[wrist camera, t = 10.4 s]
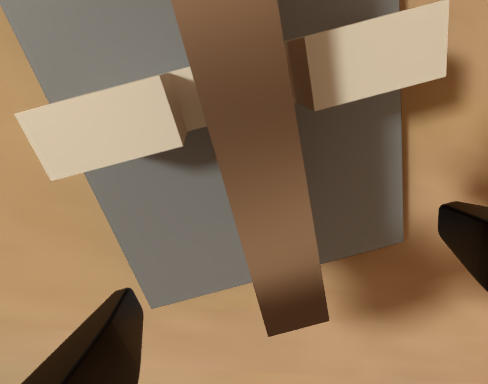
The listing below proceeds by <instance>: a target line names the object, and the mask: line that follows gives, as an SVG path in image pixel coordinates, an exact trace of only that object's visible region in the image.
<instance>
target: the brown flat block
mask: <svg viewBox="0 0 488 384" xmlns="http://www.w3.org/2000/svg"><path fill="white" fill-rule="evenodd" d="M171 3H172V6H173V10H174V13H175V16H176V20H177V23H178V27H179V30H180V34H181V37H182V41H183V44H184V47H185V51H186V54H187V58H188V61H189V65H190V68H191V72H192V75H193V79H194V82H195V85H196V89H197V92H198V96H199V99H200V103H201V106H202V110H203V113H204V117H205V120H206V123H207V127H208V130H209V134H210V137H211V141H212V144H213V148H214V151H215V155H216V158H217V161H218V165H219V168H220V172H221V175H222V179H223V182H224V186H225V189H226V192H227V196H228V199H229V203H230V206H231V210H232V213H233V217H234V220H235V224H236V227H237V230H238V234H239V237H240V241H241V244H242V248H243V251H244V255H245V258H246V262H247V265H248V268H249V272H250V275H251V279H252V282H253V286H254V289H255V293H256V296H257V300H258V303H259V306H260V310H261V313H262V317H263V320H264V324H265V327H266V331H267V334H268V337H270V336H274V335H278V334H282V333H285V332H289V331H293V330H297V329H300V328H304V327H308V326H312V325H315V324H319V323H323V322H327V321H329V315H328V309H327V303H326V297H325V291H324V285H323V278H322V272H321V266H320V260H319V254H318V248H317V242H316V235H315V229H314V223H313V217H312V211H311V205H310V199H309V192H308V186H307V180H306V174H305V168H304V162H303V156H302V149H301V143H300V137H299V131H298V125H297V119H296V113H295V107H294V100H293V94H292V88H291V82H290V76H289V70H288V64H287V57H286V51H285V45H284V39H283V33H282V27H281V21H280V14H279V8H278V2H277V0H171Z"/></svg>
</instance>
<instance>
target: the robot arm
mask: <svg viewBox="0 0 488 384" xmlns="http://www.w3.org/2000/svg"><path fill="white" fill-rule="evenodd" d="M438 232H439V235H440V237H441V238H442V240H443V241H444V242H445V243H446V244H447V246H448V247H449V248H450V249H451V250H452V252H453V253H454V254H455V255H456V257H457V258H458V259H459V260H460V261H461V263H462V264H463V265H464V266H465V267H466V269H467V270H468V271H469V272H470V273H471V275H472V276H473V277H474V278H475V279H476V280H477V281H478V282H479V284H480V285H481V286H482V287H483V288H484V289H485V290H486V291H487V292H488V207H485V206H480V205H474V204H469V203H463V202H458V201H454V202H450V203H446V204H443V205H441V206H440V208H439V214H438ZM142 332H143V310H142V307H141V305H140V303H139V301H138V299H137V297H136V296H135V294H134V292H133V290H132V289H131V288H125V289H121V290H117V291H115V292H114V293H113V294H112V295H111V296H110V297H109V298H108V299H107V300H106V301H105V302H104V303H103V304H102V305H101V306H100V307H99V308H98V309H97V310H96V311H95V312H94V313H92V314H91V315H90V316H89V317H88V318H87V319H86V320H85V321H84V322H83V323H82V324H81V325H80V326H79V327H78V328H77V329H76V330H75V331H74V332H73V333H72V334H71V335H70V336H69V337H68V338H67V339H66V340H65V341H64V342H63V343H62V344H61V345H60V346H59V347H58V348H57V349H56V350H55V351H54V352H53V353H52V354H51V355H50V356H49V357H48V358H47V359H46V360H45V361H44V362H43V363H42V364H41V365H40V366H39V367H38V368H37V369H36V370H35V371H34V372H33V373H32V374H31V375H30V376H29V377H28V378H27V379H25V380H24V381H23V382H22V383H21V384H138V380H139V373H140V363H141V348H142Z"/></svg>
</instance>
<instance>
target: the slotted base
mask: <svg viewBox="0 0 488 384" xmlns="http://www.w3.org/2000/svg"><path fill="white" fill-rule="evenodd" d="M277 2H278V8H279V14H280V21H281V27H282V33H283V39H284V45H285V51H286V57H287V64H288V70H289V76H290V82H291V88H292V94H293V100H294V107H295V113H296V119H297V125H298V131H299V137H300V143H301V149H302V156H303V162H304V168H305V174H306V180H307V186H308V192H309V199H310V205H311V211H312V217H313V223H314V229H315V235H316V242H317V248H318V254H319V260H320V264H323V263H327V262H330V261H334V260H338V259H342V258H345V257H349V256H353V255H357V254H360V253H364V252H368V251H372V250H375V249H379V248H383V247H387V246H391V245H394V244H398V243H402V242H404V236H403V183H402V130H401V88H405V87H409V86H412V85H416V84H420V83H424V82H427V81H431V80H435V79H439V78H443V77H446V67H447V42H448V18H449V0H442V1H438V2H434V3H431V4H427V5H423V6H419V7H415V8H411V9H407V10H403V11H399V0H277ZM0 5H1V7H2V9H3V11H4V13H5V15H6V17H7V19H8V21H9V23H10V25H11V27H12V29H13V31H14V33H15V35H16V37H17V39H18V41H19V43H20V45H21V47H22V49H23V51H24V53H25V55H26V57H27V59H28V61H29V63H30V65H31V68H32V70H33V72H34V74H35V76H36V78H37V80H38V82H39V84H40V86H41V88H42V90H43V92H44V94H45V96H46V98H47V100H48V102H49V104H47V105H44V106H40V107H36V108H33V109H29V110H26V111H22V112H18V113H15V114H14V115H15V117H16V119H17V120H18V122H19V124H20V126H21V128H22V129H23V131H24V133H25V135H26V137H27V138H28V140H29V142H30V144H31V146H32V147H33V149H34V151H35V153H36V155H37V157H38V158H39V160H40V162H41V164H42V166H43V167H44V169H45V171H46V173H47V175H48V176H49V178H50V180H51V181H53V180H57V179H61V178H65V177H69V176H72V175H76V174H80V173H84V174H85V176H86V178H87V180H88V182H89V184H90V186H91V188H92V190H93V192H94V194H95V196H96V198H97V200H98V202H99V204H100V206H101V208H102V210H103V212H104V214H105V216H106V218H107V220H108V222H109V224H110V226H111V228H112V231H113V233H114V235H115V237H116V239H117V241H118V243H119V245H120V247H121V249H122V251H123V253H124V255H125V257H126V259H127V261H128V263H129V265H130V267H131V269H132V271H133V273H134V275H135V277H136V279H137V281H138V283H139V285H140V287H141V289H142V291H143V293H144V295H145V297H146V299H147V301H148V303H149V305H150V307H151V309H154V308H157V307H161V306H165V305H169V304H172V303H176V302H180V301H184V300H187V299H191V298H195V297H199V296H202V295H206V294H210V293H214V292H218V291H221V290H225V289H229V288H233V287H236V286H240V285H244V284H248V283H251V282H252V279H251V275H250V272H249V268H248V265H247V262H246V258H245V255H244V251H243V248H242V244H241V241H240V237H239V234H238V230H237V227H236V224H235V220H234V217H233V213H232V210H231V206H230V203H229V199H228V196H227V192H226V189H225V186H224V182H223V179H222V175H221V172H220V168H219V165H218V161H217V158H216V155H215V151H214V148H213V144H212V141H211V137H210V134H209V130H208V127H207V123H206V120H205V117H204V113H203V110H202V106H201V103H200V99H199V96H198V92H197V89H196V85H195V82H194V79H193V75H192V72H191V68H190V65H189V61H188V58H187V54H186V51H185V47H184V44H183V41H182V37H181V34H180V30H179V27H178V23H177V20H176V16H175V13H174V10H173V6H172V3H171V0H0Z"/></svg>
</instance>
